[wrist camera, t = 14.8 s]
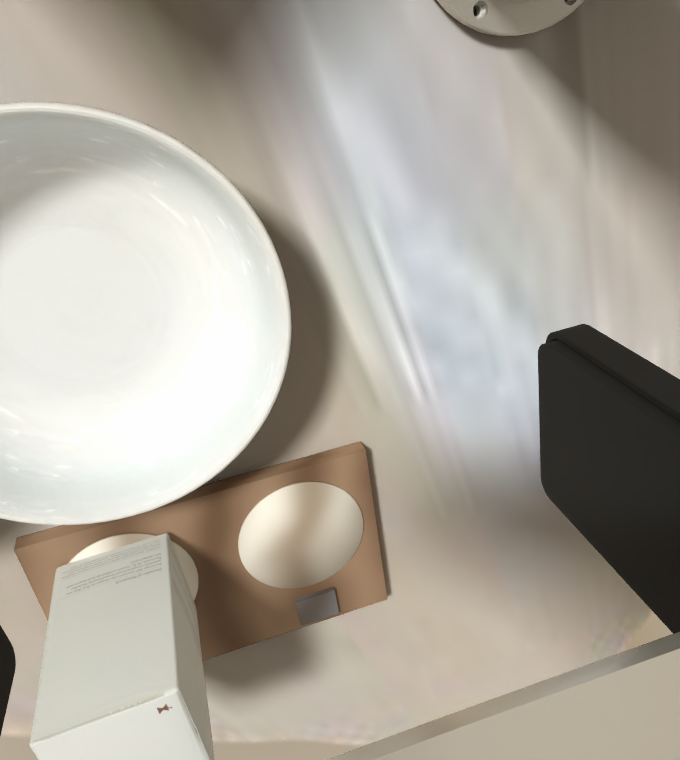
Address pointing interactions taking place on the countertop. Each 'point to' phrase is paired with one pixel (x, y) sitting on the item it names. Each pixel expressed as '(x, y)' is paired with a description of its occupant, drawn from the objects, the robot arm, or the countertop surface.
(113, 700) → the supplement box
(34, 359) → the serving bowl
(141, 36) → the countertop surface
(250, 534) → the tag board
